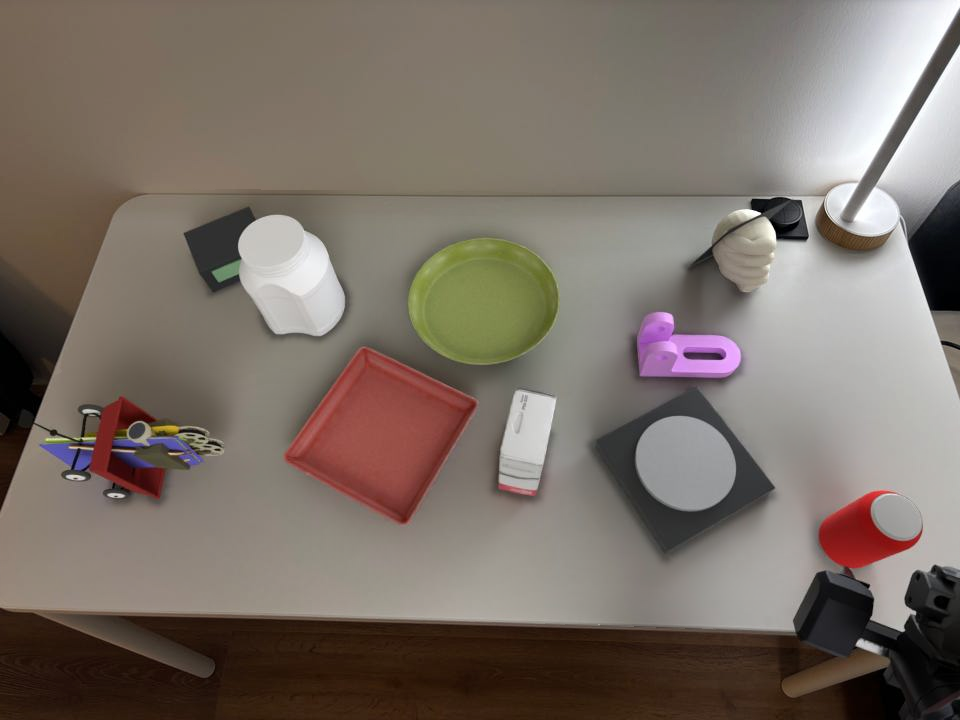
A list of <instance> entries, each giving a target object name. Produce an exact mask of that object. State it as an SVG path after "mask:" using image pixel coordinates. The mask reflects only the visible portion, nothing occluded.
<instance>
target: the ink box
mask: <svg viewBox="0 0 960 720" xmlns="http://www.w3.org/2000/svg"><path fill="white" fill-rule="evenodd" d="M556 403H557V396H556V395H553V394H551V393H547V392H544V391H540V390H536V389H530V388H524V387H517V388H515V390H514V392H513V395H512V400H511V403H510V407H509V411H508V416H507V420H506V423H505V429H504V432H503V436H502V441H501V445H500V448H499V451H500V452H499V460H498V461H499V462H498V481H497V482H498V483H497V488H498V489H499V490H503V491H507V492H510V493H515V494H519V495H525V496H532V497H535V496H536V495H537V493H538V488H539V485H540V480H541V478H542V477H541V476H542V472H543V468H544V464H545V459H546V455H547V449H548V445H549V440H550V435H551V430H552V424H553V419H554V413H555V407H556Z"/></svg>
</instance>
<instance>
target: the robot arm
mask: <svg viewBox="0 0 960 720" xmlns="http://www.w3.org/2000/svg"><path fill="white" fill-rule="evenodd" d="M870 588H871V584H870V583H868V582H865V581H863V580H860V579H856V576H855V574H854V572H853V571H852V569H851V568H849V567H846V566H842V569H841V571H840V572H834V571H830V570H828V569H823V570H821V571H817V572H816V573H815V575H814V577H813V579H812V581H811V583H810V584H809V587H808V589H807V591H806V593H805V594H804V597H803V599H802V601H801V603H800V604H799V607H798V609H797V611H796V613H795V615H794V617H793V618H792V623H793V628H794V632H795V635H796V637H797V638H798V640H799V642H800V643H802V644H804V645H807V646H810V647H812V648H814V649H818V650H819V651H822V652H824V653H827V654H829V655H832V656H835V657H837V658H840V659H846V658H847V659H848V658H850V656H851V654H852V653H853V651H854V650H855V647H857V648H860V649H862V650H865V651H867V652H870V653H872V654H875V655H877V656H880V657H883V658H885V659H888V660H889V661H890V662H889V663H888V665H887V667H886V669H885V671H884V672H883V674H882V675H883V677H884V680H885V683H886V684H887V685H890V686H892V687H895V688H897V689H899V690H901V692H902V695H903V696H904V699H905V701H904V702H903V704H902V706H901V708H900V709H899V711H898V716H899V718H900V720H960V569H958V568H955V567H953V566H947V565H946V566H940V565H938V564H933V565H932V566H931V569H930V570H929V571H923V570H920V569H916V570H914V572H912V574H911V576H910V580H909V583H908V586H907V588H906V590H905V591H906V592H905V594H904V598H903V599H904V600H903V601H904V605H905V607H906V608H908V609H910V610H912V611H914V612H915V614H913V613H910V614H909V616H908V617H907V619H906V621H905V622H904V624H903V629H904V631H901V630H898V629H896V628H893V627H891V626H888V625H886V624H883V623H880V622H878V621H875V620H873V619H872V616H873V612H874V606H875V605H874V604H875V596H874V594H873V593H872V590H871V589H870Z"/></svg>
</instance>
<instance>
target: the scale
mask: <svg viewBox="0 0 960 720" xmlns="http://www.w3.org/2000/svg"><path fill="white" fill-rule="evenodd" d="M594 448H595V450H596V451H597V453H598V454H599V456H600V458H601V459H602V460H603V462H604V463H605V465H606V466H607V468H608V470H609V471H610V473H611V474H612V476H613V477H614V479H615V480H616V482H617V483H618V485H619V487H620V488H621V489H622V491H623V492H624V494H625V496H626V497H627V498H628V500H629V501H630V503H631V504H632V506H633V508H634V509H635V510H636V512H637V514H638V515H639V517H640V518H641V520H642V522H644V524H645V526H646V527H647V529H648V530H649V532H650V534H651V535H652V536H653V538H654V540H655V541H656V543H657V545H658V546H659V547H660V549H661V550H662V552H663V554H664V555H666V554H668V553H670V552H671V551H673V550H675V549H677V548H679V547H681V546H682V545H684V544H686V543H687V542H689V541H690V540H692V539H694V538H695V537H697V536H699V535H701V534H702V533H705V532H706V531H707V530H709V529H711V528H712V527H714V526H716V525H718V524H719V523H721V522H723V521H724V520H727V519H728V518H730V517H731V516H733V515H735V514H737V513H739V512H740V511H741V510H743V509H745V508H746V507H748V506H750V505H752V504H753V503H755V502H757V501H758V500H760V499H762V498H764V497H765V496H767V495H769V494H770V493H771V492H773V491H774V490H775V489H776V486H775V485H774V484H773V483H772V481H771V480H770V479H769V477H768V476H767V475H766V474H765V472H764V471H763V469H762V468H761V467H760V466H759V464H758V463H757V462H756V460H755V459H754V458H753V456H752V455H751V454H750V452H748V450H747V449H746V448H745V446H744V445H743V444H742V443H741V441H740V440H739V439H738V437H737V436H736V435H735V433H734V431H732V429H730V427H729V426H728V424H727V423H726V422H725V421H724V419H723V418H722V417H721V415H720V414H719V413H718V412H717V410H716V409H715V407H713V405H712V403H711V402H710V401H709V400H708V398H707V397H706V396H705V395H704V394H703V392H702V391H701V390H700V388H699V387H698V386H695V387H693V388H691V389H689V390H686V392H683V393H682V394H679V395H678V396H675V397H674V398H672V399H670V400H669V401H667V402H665V403H663V404H661V405H660V406H658V407H655V408H653V409H652V410H650V411H648V412H646V413H644V414H643V415H640V416H639V417H637V418H635V419H633V420H631V421H629V422H627V423H625V424H624V425H622V426H620V427H618V428H617V429H614V430H613V431H610V432H609V433H607V434H605V435H603V436H601V437H600V438H598V439H596V441H595V444H594Z"/></svg>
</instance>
